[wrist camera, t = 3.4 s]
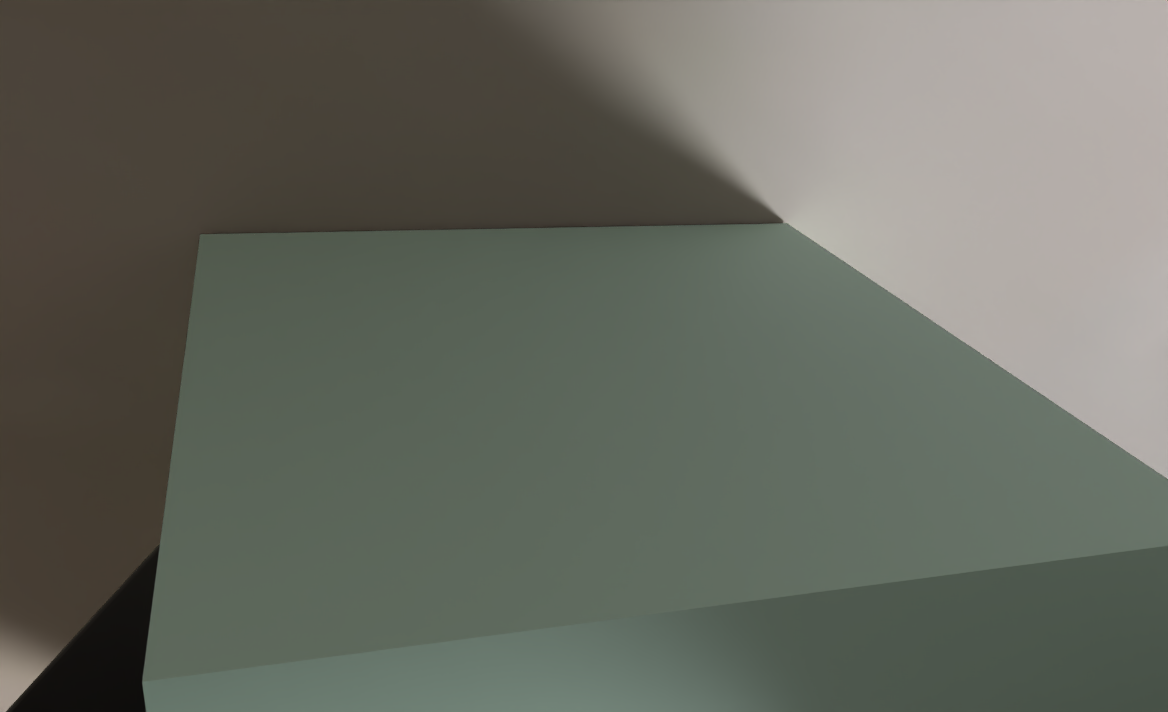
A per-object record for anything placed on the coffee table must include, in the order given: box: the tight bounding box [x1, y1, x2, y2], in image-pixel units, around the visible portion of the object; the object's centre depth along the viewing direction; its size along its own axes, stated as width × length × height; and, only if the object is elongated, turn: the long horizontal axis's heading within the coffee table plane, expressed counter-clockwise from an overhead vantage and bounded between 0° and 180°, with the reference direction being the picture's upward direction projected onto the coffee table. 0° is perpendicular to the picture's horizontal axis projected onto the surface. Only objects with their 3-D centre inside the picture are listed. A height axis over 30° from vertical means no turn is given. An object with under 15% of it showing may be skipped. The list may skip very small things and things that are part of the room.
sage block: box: [142, 223, 1168, 712], centre depth 8 cm, size 5×5×5 cm
